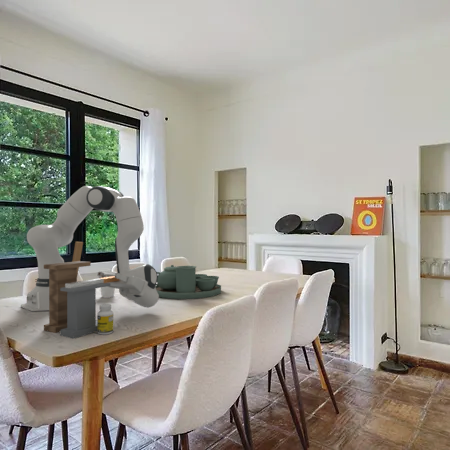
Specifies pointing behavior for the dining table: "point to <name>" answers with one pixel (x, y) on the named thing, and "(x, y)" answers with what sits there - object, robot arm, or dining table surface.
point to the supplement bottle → (105, 320)
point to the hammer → (77, 252)
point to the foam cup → (107, 288)
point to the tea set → (186, 283)
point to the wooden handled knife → (90, 282)
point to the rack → (81, 310)
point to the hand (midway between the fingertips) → (107, 274)
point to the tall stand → (60, 292)
